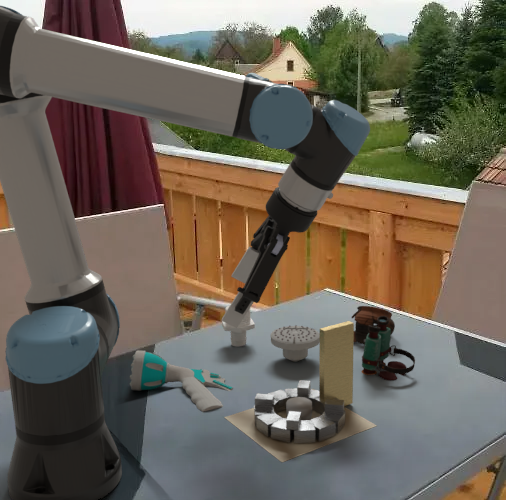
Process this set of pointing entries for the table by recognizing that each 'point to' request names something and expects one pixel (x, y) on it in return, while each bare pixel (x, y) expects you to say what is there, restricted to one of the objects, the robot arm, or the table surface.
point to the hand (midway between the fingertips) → (234, 300)
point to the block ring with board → (314, 393)
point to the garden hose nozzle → (175, 379)
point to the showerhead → (295, 341)
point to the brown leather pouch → (369, 321)
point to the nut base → (292, 450)
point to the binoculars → (382, 352)
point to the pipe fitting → (239, 329)
